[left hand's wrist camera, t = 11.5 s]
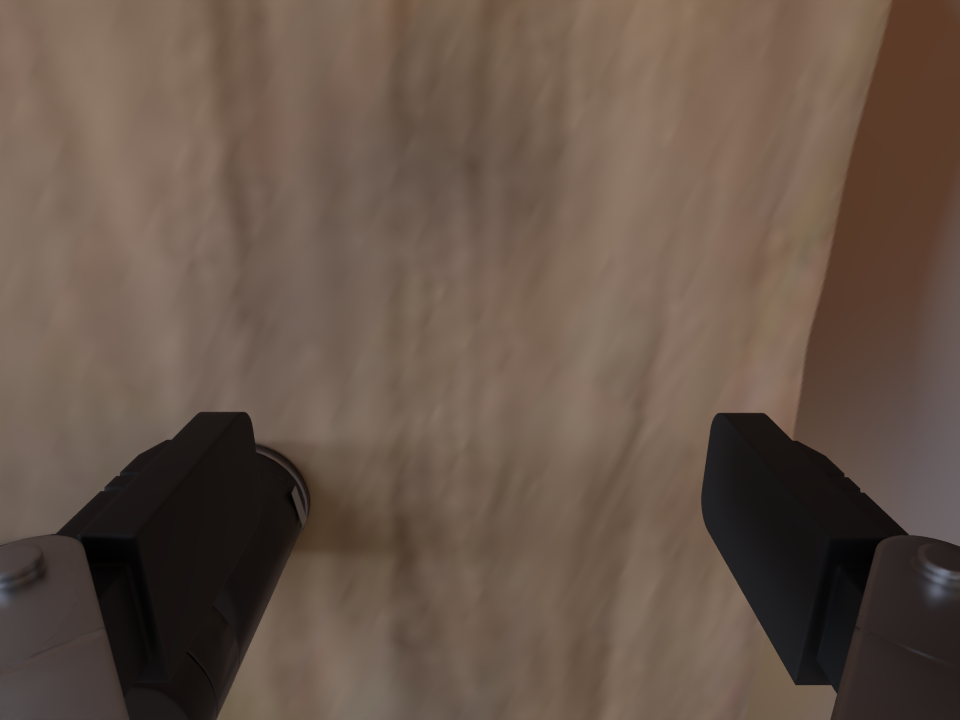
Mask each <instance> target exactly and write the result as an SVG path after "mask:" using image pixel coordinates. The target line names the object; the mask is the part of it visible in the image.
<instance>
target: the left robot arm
mask: <svg viewBox="0 0 960 720" xmlns="http://www.w3.org/2000/svg"><path fill="white" fill-rule="evenodd" d="M701 505H702V514H703V519H704V522H705V525H706V528H707V530H708V532H709V534H710V535H711V537H712V539H713V541H714V542H715V544H716V546H717V548H718V550H719V551H720V553H721V555H722V557H723V558H724V560H725V562H726V564H727V565H728V567H729V569H730V571H731V572H732V574H733V576H734V578H735V579H736V581H737V583H738V585H739V586H740V588H741V590H742V592H743V594H744V595H745V597H746V599H747V601H748V602H749V604H750V606H751V608H752V609H753V611H754V613H755V615H756V616H757V618H758V620H759V622H760V623H761V625H762V627H763V629H764V630H765V632H766V634H767V636H768V637H769V639H770V641H771V643H772V645H773V646H774V648H775V650H776V652H777V653H778V655H779V657H780V659H781V660H782V662H783V664H784V666H785V667H786V669H787V671H788V673H789V674H790V676H791V678H792V680H793V681H794V683H795V685H832V687H833V688H834V690H835V691H836V693H837V697H836V701H835V705H834V708H833V712H832V716H831V720H960V546H957V545H954V544H951V543H948V542H945V541H941V540H937V539H933V538H928V537H922V536H914V535H909V534H908V533H907V532H906V531H904V530H903V529H902V528H901V527H900V526H899V525H898V524H897V523H896V522H895V521H894V520H893V519H892V518H891V517H890V516H889V515H888V514H886V513H885V512H884V511H883V510H882V509H881V508H880V507H879V506H878V505H877V504H876V503H875V502H874V501H873V500H872V499H871V498H869V497H868V496H867V495H866V494H865V493H861V492H860V488H859V487H858V486H857V485H856V484H855V483H854V482H853V481H851V480H850V479H849V478H848V477H844V473H843V472H842V471H841V470H840V469H839V468H838V467H837V466H836V465H835V464H833V463H832V462H831V461H830V460H829V459H828V458H827V457H826V456H824V455H823V454H821V453H819V452H817V451H815V450H813V449H811V448H810V447H808V446H806V445H804V444H802V443H800V442H798V441H792V440H791V439H790V438H789V437H788V436H787V435H786V434H785V433H784V432H783V431H782V430H781V429H780V428H779V427H778V426H777V425H776V424H775V423H774V422H773V421H772V420H771V419H770V418H769V417H768V416H767V415H766V414H764V413H718V414H717V415H716V416H715V417H714V419H713V421H712V425H711V430H710V437H709V444H708V451H707V458H706V465H705V472H704V479H703V487H702V495H701ZM309 508H310V501H309V494H308V490H307V488H306V485H305V483H304V481H303V479H302V477H301V476H300V474H299V473H298V472H297V470H296V469H295V468H294V467H293V466H292V465H291V464H290V463H289V462H288V461H287V460H285V459H284V458H283V457H281V456H280V455H278V454H277V453H275V452H273V451H271V450H269V449H266V448H264V447H261V446H257V445H255V440H254V433H253V426H252V422H251V419H250V417H249V415H248V414H247V413H246V412H200V413H198V414H197V415H196V416H195V417H194V418H193V419H192V420H191V421H190V422H189V423H188V424H187V425H186V426H185V427H184V428H183V429H182V430H181V431H180V432H179V433H178V434H177V435H176V436H175V437H174V438H173V439H172V440H166V441H164V442H162V443H160V444H158V445H156V446H154V447H153V448H151V449H149V450H147V451H145V452H143V453H141V454H139V455H138V456H137V457H136V458H135V459H134V460H133V461H132V462H131V463H130V464H129V465H128V466H127V467H126V468H124V469H123V470H122V471H121V472H120V476H116V477H115V478H114V479H113V480H112V481H111V482H110V483H109V484H108V485H107V486H106V487H105V490H104V491H100V492H99V493H98V494H97V495H96V496H95V497H94V498H93V499H92V500H91V501H90V502H89V503H88V504H87V505H86V506H85V507H84V508H82V509H81V510H80V511H79V512H78V513H77V514H76V515H75V516H74V517H73V518H72V519H71V520H70V521H69V522H68V523H67V524H66V525H65V526H64V527H63V528H61V529H60V530H59V531H58V532H57V533H56V534H51V535H44V536H37V537H32V538H27V539H23V540H19V541H15V542H12V543H8V544H5V545H1V546H0V720H217V718H218V715H219V713H220V711H221V709H222V706H223V704H224V702H225V700H226V697H227V695H228V693H229V691H230V688H231V686H232V684H233V682H234V679H235V677H236V675H237V672H238V670H239V668H240V666H241V663H242V661H243V659H244V657H245V654H246V652H247V650H248V648H249V645H250V643H251V641H252V639H253V637H254V634H255V632H256V630H257V628H258V625H259V623H260V621H261V619H262V616H263V614H264V612H265V610H266V607H267V605H268V603H269V601H270V598H271V596H272V594H273V592H274V590H275V587H276V585H277V583H278V581H279V578H280V576H281V574H282V572H283V569H284V567H285V565H286V563H287V560H288V558H289V556H290V554H291V552H292V549H293V547H294V545H295V542H296V540H297V538H298V537H299V535H300V534H301V532H302V530H303V528H304V526H305V524H306V521H307V519H308V515H309Z"/></svg>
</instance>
